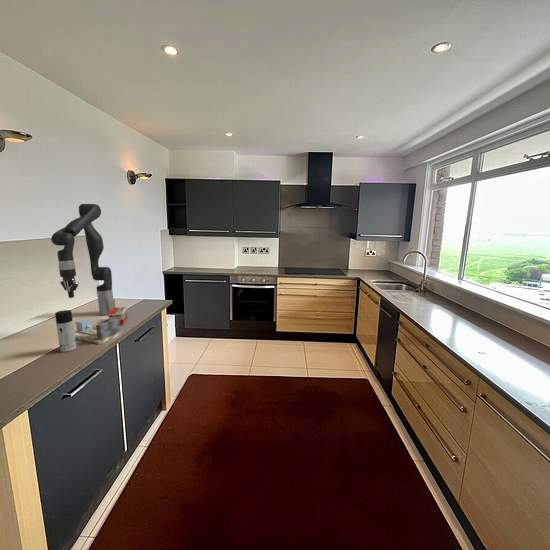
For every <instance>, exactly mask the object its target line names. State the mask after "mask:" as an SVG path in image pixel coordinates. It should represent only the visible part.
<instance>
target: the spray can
mask: <svg viewBox="0 0 550 550" xmlns="http://www.w3.org/2000/svg"><path fill="white" fill-rule="evenodd" d="M54 316H55V323H56V330H57V337H58V338H57V339H58V343H59V350H60V352H61V353H66V352H67V353H68V352H72V351H74V350H76V349H77V344H76V343H77V342H76V339H75V335H74V330H75V329H74V320H73V314H72V310H71V309H67V310H59V311H56V312H55V314H54Z"/></svg>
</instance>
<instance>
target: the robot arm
mask: <svg viewBox="0 0 550 550" xmlns="http://www.w3.org/2000/svg"><path fill="white" fill-rule="evenodd" d="M78 214H79V217H77V218H74V219H73V220H71V221H70V222H69V223H67V225H65V227H63V228H60V229H59V230H57V231H55V232H54V233H53V234H52V235H51V243H52V244H53V245H55V246H63V248H62V249H60V250H58V251H57V259H58V270H59V271H58V272H59V276H60V277H61V278H62V281H59V283H60V285H61V287H62V288H63V289H64V291H66V292H67V295H68V298H69V299H73V298H75V294H74V293H75V292H74V291H76V290H77V289H78V286H79V285H80V284H79V282H77V281H76V278H75V277H76V276H77V271H76V265H75V260H74V247H75V243H76V240H75V238H76V237H77V236H78V235H79V234H80V233H81V232H82V230H84V235H85V241H86V247H87V251H88V254H89V255H88V257H89V262H90V273H91V277H92V279H93V280H94V281H103V283H102V284H100V285H97V286H96V295H97V304H98V310H99V311H98V312H99V316H108V314H109V313H110V312H111V310H112V309H113V308H117V306H116V300H115V298H114V295H113V294H114V293H113V278H112V277H113V275H112V270H111V268H110V267H108V266H100V265H99V260H100V257H101V255H102V254H103V252H104V248H105V247H104V241H103V237H102V235H101V234H100V233H99V232H98V231H97V229H96V228H95V227H94V225H93V222H94V221H96V220H97V219H99V218H100V217H101V215H102V209H101V207H100V206H99V204H97V203H81V204H80V205H79V206H78Z"/></svg>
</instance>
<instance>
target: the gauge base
mask: <svg viewBox="0 0 550 550" xmlns="http://www.w3.org/2000/svg"><path fill="white" fill-rule="evenodd" d="M92 326H93V329H92V330H89V331H87V332H83V331H76V332H74V335H75V340H78V341H83V342H87V343H93V344H97V345H101V344H104V343H105V342H107V341H110V340H113V339H114V338H117V337H119V336H123V335H124V334H125V330H123V329H122V328H121V325H120V320H119V319H118V318H115V319H112V320H109V319H108V320H107V321H104V322H100V323H98V324H96V325H95V324H92ZM75 330H76V329H74V331H75Z"/></svg>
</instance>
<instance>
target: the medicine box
mask: <svg viewBox="0 0 550 550" xmlns="http://www.w3.org/2000/svg"><path fill="white" fill-rule="evenodd" d="M127 308H128V307H127V306H122V307H121V306H119V307H116V308H113V309H112V310H111V312H110V313H109V314H108V315H107V316H108V317H107V318H108V321H109V320H112V319H115V318H118V319H119V320H120V326H124V325H125V324H126V321H127V320H128V310H127Z"/></svg>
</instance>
